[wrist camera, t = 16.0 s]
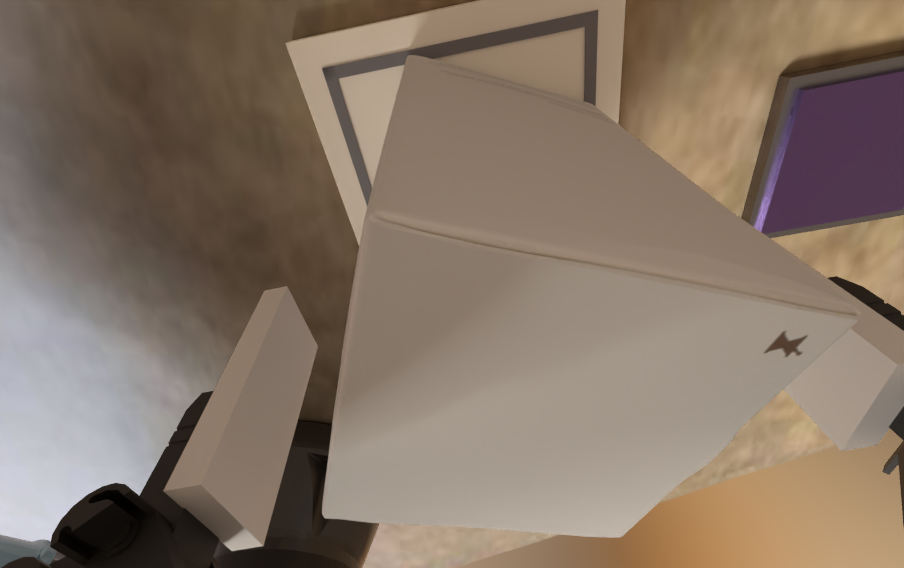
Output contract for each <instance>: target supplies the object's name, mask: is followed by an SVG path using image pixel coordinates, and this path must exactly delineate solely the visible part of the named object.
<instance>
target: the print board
mask: <svg viewBox="0 0 904 568" xmlns="http://www.w3.org/2000/svg"><path fill="white" fill-rule="evenodd" d="M625 7H626V0H476V1H472V2H467V3H462V4H458V5H453V6H449V7H444V8H439V9H435V10H430V11H426V12H421V13H416V14H412V15H407V16H403V17H398V18H393V19H389V20H384V21H379V22H375V23H370V24H366V25H361V26H356V27H352V28H347V29H343V30H338V31H333V32H329V33H324V34H320V35H315V36H310V37H306V38H301V39H296V40H292V41H289V42H287V43H285V44H286V46H287V49H288V52H289V55H290V57H291V60H292V63H293V66H294V68H295V71H296V74H297V77H298V79H299V82H300V85H301V88H302V90H303V93H304V96H305V99H306V101H307V104H308V107H309V110H310V112H311V115H312V118H313V121H314V123H315V126H316V129H317V132H318V134H319V137H320V140H321V143H322V145H323V148H324V151H325V154H326V156H327V159H328V162H329V165H330V167H331V170H332V173H333V176H334V178H335V181H336V184H337V187H338V189H339V192H340V195H341V198H342V201H343V203H344V206H345V209H346V212H347V214H348V217H349V220H350V223H351V225H352V228H353V231H354V234H355V236H356V239H357V242H358V245H360V240H361V235H362V229H363V224H364V218H365V214H366V210H367V206H368V203H369V199H370V195H371V191H372V187H373V183H374V179H375V175H376V171H377V167H378V163H379V160H380V156H381V152H382V148H383V144H384V140H385V136H386V133H387V129H388V125H389V121H390V118H391V114H392V110H393V107H394V103H395V99H396V95H397V92H398V88H399V85H400V81H401V77H402V73H403V70H404V66H405V62H406V58H407V56H409V55H417V56H422V57H427V58H430V59H434V60H438V61H442V62H446V63H449V64H453V65H456V66H460V67H463V68H467V69H470V70H474V71H477V72H481V73H484V74H488V75H491V76H495V77H498V78H502V79H506V80H509V81H513V82H516V83H520V84H524V85H527V86H531V87H534V88H538V89H542V90H545V91H549V92H552V93H556V94H559V95H563V96H567V97H570V98H574V99H577V100H581V101H584V102H587V103H591V104H593V105H594V106H596V107H597V108H598V109H599V110H601V111H602V112H603V113H604V114H606V115H607V116H608V117H610V118H611V119H612V120H613V121H615V122H616V123H617V124H618V123H619V107H620V90H621V73H622V57H623V40H624V24H625Z"/></svg>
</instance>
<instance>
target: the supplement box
mask: <svg viewBox="0 0 904 568" xmlns="http://www.w3.org/2000/svg"><path fill="white" fill-rule="evenodd" d="M860 315H861V311H860V310H859V309H858V308H857V307H855V306H854V305H853V304H851V303H850V302H849V301H848V300H846V299H845V298H844V297H842V296H841V295H840V294H838V293H837V292H836V291H834V290H833V289H832V288H830V287H829V286H828V285H826V284H825V283H824V282H823V281H821V280H820V279H819V278H817V277H816V276H815V275H813V274H812V273H811V272H809V271H808V270H807V269H805V268H804V267H803V266H801V265H800V264H799V263H798V262H796V261H795V260H794V259H792V258H791V257H790V256H788V255H787V254H786V253H784V252H783V251H782V250H780V249H779V248H778V247H777V246H775V245H774V244H773V243H771V242H770V241H769V240H767V239H766V238H765V237H763V236H762V235H761V234H760V233H758V232H757V231H756V230H754V229H753V228H752V227H750V226H749V225H748V224H747V223H745V222H744V221H743V220H741V219H740V218H739V217H737V216H736V215H735V214H734V213H732V212H731V211H730V210H728V209H727V208H726V207H725V206H723V205H722V204H721V203H719V202H718V201H717V200H715V199H714V198H713V197H712V196H710V195H709V194H708V193H706V192H705V191H704V190H703V189H701V188H700V187H699V186H697V185H696V184H695V183H693V182H692V181H691V180H690V179H688V178H687V177H686V176H684V175H683V174H682V173H681V172H679V171H678V170H677V169H675V168H674V167H673V166H672V165H670V164H669V163H668V162H666V161H665V160H664V159H663V158H661V157H660V156H659V155H658V154H656V153H655V152H654V151H652V150H651V149H650V148H648V147H647V146H646V145H645V144H643V143H642V142H641V141H639V140H638V139H637V138H636V137H634V136H633V135H632V134H630V133H629V132H628V131H626V130H625V129H624V128H623V127H621V126H620V125H619V124H617V123H616V122H615V121H613V120H612V119H611V118H610V117H608V116H607V115H606V114H604V113H603V112H602V111H601V110H599V109H598V108H597V107H596V106H594V105H593V104H591V103H587V102H584V101H581V100H577V99H574V98H570V97H567V96H563V95H559V94H556V93H552V92H549V91H545V90H542V89H538V88H534V87H531V86H527V85H524V84H520V83H516V82H513V81H509V80H506V79H502V78H498V77H495V76H491V75H488V74H484V73H481V72H477V71H474V70H470V69H467V68H463V67H460V66H456V65H453V64H449V63H446V62H442V61H438V60H434V59H430V58H427V57H422V56H417V55H409V56H407V58H406V62H405V66H404V70H403V73H402V77H401V81H400V85H399V88H398V92H397V95H396V99H395V103H394V107H393V110H392V114H391V118H390V121H389V125H388V129H387V133H386V136H385V140H384V144H383V148H382V152H381V156H380V160H379V163H378V167H377V171H376V175H375V179H374V183H373V187H372V191H371V195H370V199H369V203H368V206H367V210H366V214H365V218H364V224H363V229H362V235H361V240H360V245H359V251H358V256H357V262H356V268H355V273H354V279H353V285H352V291H351V297H350V303H349V310H348V316H347V322H346V329H345V335H344V342H343V349H342V356H341V363H340V371H339V378H338V386H337V393H336V400H335V407H334V414H333V422H332V430H331V438H330V446H329V455H328V463H327V471H326V478H325V486H324V494H323V502H322V515H323V516H324V518H326V519H343V520H352V521H360V522H369V523H385V524H404V525H435V526H455V527H472V528H488V529H500V530H511V531H523V532H535V533H547V534H561V535H574V536H575V535H576V536H587V537H622V536H623V535H624V534H625V533H626V532H627V531H628V530H630V529H631V528H632V527H633V526H634V525H635V524H636V523H637V522H638V521H639V520H640V519H642V518H643V517H644V516H645V515H646V514H647V513H648V512H649V511H650V510H651V509H652V508H653V507H654V506H656V505H657V504H658V503H659V502H660V501H661V500H662V499H663V498H664V497H665V496H666V495H667V494H669V493H670V492H671V491H672V490H673V489H674V488H675V487H677V486H678V485H679V484H680V483H681V482H683V481H684V480H685V479H686V478H688V477H689V476H691V475H692V474H694V473H695V472H697V471H699V470H700V469H701V468H703V467H704V466H706V465H707V464H708V463H710V462H711V461H712V460H713V459H714V458H715V457H716V456H717V455H718V454H719V453H720V452H721V451H722V450H723V449H724V448H725V447H726V446H727V445H728V444H729V443H730V442H731V441H732V439H733V438H734V437H735V435H736V434H737V433H738V431H739V430H740V428H741V427H742V426H744V425H745V424H746V423H747V422H748V421H749V420H750V419H751V418H752V417H753V416H755V415H756V414H757V413H758V412H759V411H760V410H761V409H762V408H763V407H764V406H765V405H767V404H768V403H769V402H770V401H771V400H772V399H773V398H774V397H775V396H776V395H778V394H779V393H780V392H781V391H782V390H783V389H784V388H785V387H786V386H787V385H789V384H790V383H791V382H792V381H793V380H794V379H795V378H796V377H797V376H798V375H800V374H801V373H802V372H803V371H804V370H805V369H806V368H807V367H808V366H809V365H811V364H812V363H813V362H814V361H815V360H816V359H817V358H818V357H819V356H820V355H822V354H823V353H824V352H825V351H826V350H827V349H828V348H829V347H830V346H831V345H833V344H834V343H835V342H836V341H837V340H838V339H839V338H840V337H841V336H843V335H844V334H845V333H846V332H847V331H848V330H849V329H850V328H851V327H852V326H854V325H855V324H856V323H857V322H858V321H859V320H860Z"/></svg>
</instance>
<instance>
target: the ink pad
mask: <svg viewBox="0 0 904 568" xmlns="http://www.w3.org/2000/svg"><path fill="white" fill-rule="evenodd" d="M900 215H904V51H901V52H896V53H891V54H886V55H881V56H876V57H871V58H866V59H861V60H855V61H850V62H845V63H840V64H835V65H830V66H825V67H820V68H815V69H810V70H805V71H800V72H795V73H789V74H784V75H780V76H779V80H778V84H777V88H776V91H775V95H774V99H773V103H772V106H771V110H770V114H769V118H768V121H767V125H766V129H765V133H764V136H763V140H762V144H761V148H760V151H759V155H758V159H757V163H756V166H755V170H754V174H753V178H752V181H751V185H750V189H749V193H748V196H747V200H746V204H745V208H744V211H743V215H742V219H743V220H744V221H746V222H747V223H749V224H750V225H751V226H753V227H754V228H756V229H757V230H759V231H760V232H762V233H763V234H764V235H766V236H767V237H769V238H774V237H780V236H785V235H791V234H797V233H803V232H808V231H814V230H820V229H826V228H831V227H837V226H843V225H848V224H854V223H860V222H866V221H871V220H877V219H883V218H889V217H894V216H900Z"/></svg>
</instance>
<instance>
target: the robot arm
mask: <svg viewBox="0 0 904 568" xmlns="http://www.w3.org/2000/svg"><path fill="white" fill-rule="evenodd" d="M732 213H733V212H732ZM735 215H736V214H735ZM736 216H737V215H736ZM737 217H739V216H737ZM739 218H740V217H739ZM740 219H741V218H740ZM741 220H743V219H741ZM743 221H744V220H743ZM744 222H745V223H747V222H746V221H744ZM747 224H748V225H749V226H750V227H752V228H753V229H754V230H756V231H757V232H758V233H760V234H761V235H762V236H763V237H765V238H766V239H767V240H769V241H770V242H771V243H773V244H774V245H775V246H777V247H778V248H779V249H780V250H782V251H783V252H784V253H786V254H787V255H788V256H790V257H791V258H792V259H794V260H795V261H796V262H798V263H799V264H800V265H801V266H803V267H804V268H805V269H807V270H808V271H809V272H811V273H812V274H813V275H815V276H816V277H817V278H819V279H820V280H821V281H823V282H824V283H825V284H826V285H828V286H829V287H830V288H832V289H833V290H834V291H836V292H837V293H838V294H840V295H841V296H842V297H844V298H845V299H846V300H848V301H849V302H850V303H851V304H853V305H854V306H855V307H857V308H858V309H859V310H860V311H861V315H860V320H859V321H858V322H857V323H856V324H855V325H854V326H852V327H851V328H850V329H849V330H848V331H847V332H846V333H845V334H844V335H843V336H841V337H840V338H839V339H838V340H837V341H836V342H835V343H834V344H833V345H831V346H830V347H829V348H828V349H827V350H826V351H825V352H824V353H823V354H822V355H820V356H819V357H818V358H817V359H816V360H815V361H814V362H813V363H812V364H811V365H809V366H808V367H807V368H806V369H805V370H804V371H803V372H802V373H801V374H800V375H798V376H797V377H796V378H795V379H794V380H793V381H792V382H791V383H790V384H789V385H787V386H786V387H785V388H784V390H785V391H786V392H787V393H788V394H789V395H790V397H791V398H792V399H793V400H794V401H795V402H796V403H797V404H798V405H799V406H800V407H801V408H802V409H803V411H804V412H805V413H806V414H807V415H808V416H809V417H810V418H811V419H812V420H813V421H814V422H815V423H816V425H817V426H818V427H819V428H820V429H821V430H822V431H823V432H824V433H825V434H826V435H827V436H828V437H829V439H830V440H831V441H832V442H833V443H834V444H835V445H836V446H837V447H838V448H839V449H840V450H841V451H845V450H851V449H857V448H863V447H870V446H876V445H878V443H879V442H880V440H881V439H882V438H883V437H884V435H885V434H886V432H887V431H888V430H889V428H891V429H892V430H893V431H894V432H895V433H896V434H897V435H898V436H899V437H900V438H902V439H903V440H904V315H902V314H901V312H900V311H899V310H897V309H896V308H894V307H893V306H891V305H890V304H888V303H886V304H885V303H884V300H882V299H881V298H879V297H878V296H876V295H875V294H873V293H872V292H870V291H868V290H867V289H865V288H864V287H862V286H860V285H857V284H854V283H852V282H849V281H847V280H844V279H842V278H839V277H837V276H836V277H830V278H826V277H825V276H824V275H822V274H821V273H819V272H818V271H816V270H815V269H813V268H812V267H811V266H809V265H808V264H806V263H805V262H803V261H802V260H801V259H799V258H798V257H796V256H795V255H793V254H792V253H790V252H789V251H788V250H786V249H785V248H783V247H782V246H780V245H779V244H777V243H776V242H775V241H773V240H772V239H770V238H769V237H767V236H766V235H764V234H763V233H762V232H760V231H759V230H757V229H756V228H754V227H753V226H751V225H750V224H749V223H747ZM317 348H318V345H317V344H316V342H315V340H314V338H313V336H312V334H311V332H310V330H309V328H308V326H307V324H306V322H305V320H304V318H303V316H302V314H301V312H300V310H299V308H298V306H297V304H296V302H295V300H294V298H293V297H292V295H291V293H290V291H289V289H288V287H287V286H285V287H280V288H275V289H270V290H265V291H264V292H263V294H262V296H261V298H260V300H259V302H258V304H257V306H256V308H255V310H254V312H253V314H252V316H251V318H250V320H249V322H248V324H247V326H246V328H245V330H244V332H243V334H242V336H241V338H240V340H239V342H238V344H237V346H236V348H235V350H234V352H233V354H232V356H231V358H230V360H229V362H228V364H227V366H226V368H225V370H224V372H223V374H222V376H221V378H220V380H219V382H218V384H217V386H216V388H215V390H214V391H210V392H205V393H202V394H201V395H200V396H199V397H198V398H197V399H196V400H195V401H194V402H193V404H192V405H191V406H190V407H189V408H188V409H187V410H186V412H185V414H184V415H183V417H182V419H181V421H180V423H179V425H178V426H177V431H175V432H174V434H173V436H172V437H171V439H170V441H169V446H168V447H166V448H165V450H164V452H163V454H162V456H161V458H160V459H159V461H158V463H157V465H156V467H155V469H154V470H153V472H152V474H151V476H150V478H149V479H148V481H147V483H146V485H145V487H144V489H143V490H142V492H141V494H140V496H139V495H137V494H136V493H135V492H134V491H133V490H131V489H130V488H129V487H128V486H126V485H125V484H118V483H114V484H110V485H107V486H103V487H101V488H99V489H97V490H95V491H94V492H92V493H90V494H88V495H87V496H85V497H84V498H83V499H82V500H80V501H79V502H78V503H77V504H75V505H74V506H73V507H72V508H71V509H70V510H69V512H68V513H67V514H66V515H65V516H64V517H63V518H62V519H61V521H60V522H59V524H58V526H57V528H56V529H55V531H54V533H53V535H52V539H51V542H50V541H48V540H37V541H33V542H30V541H26V540H21V539H17V538H12V537H8V536H3V535H0V568H362V567H363V564H364V562H365V559H366V557H367V554H368V552H369V549H370V546H371V544H372V541H373V539H374V536H375V534H376V531H377V529H378V526H379V523H369V522H360V521H352V520H343V519H326V518H324V516H323V515H322V502H323V494H324V486H325V478H326V471H327V463H328V455H329V446H330V438H331V430H332V426H331V425H327V424H322V423H315V422H305V421H298V418H299V414H300V410H301V407H302V403H303V400H304V396H305V392H306V389H307V385H308V381H309V378H310V374H311V370H312V367H313V363H314V359H315V356H316V352H317ZM897 465H899V472H900V485H901V498H902V511H903V524H904V441H903V442H902V443H901V445H900V446H899V447H898V448H897V450H896V451H895V452H894V453H893V455H892V456H891V458H890V459H889V460H888V461H887V462H886V464H885V466H884V469H883V472H884V473H887V474H890V473H891V472H892V471H893V470H894V468H895V467H896V466H897Z"/></svg>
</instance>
